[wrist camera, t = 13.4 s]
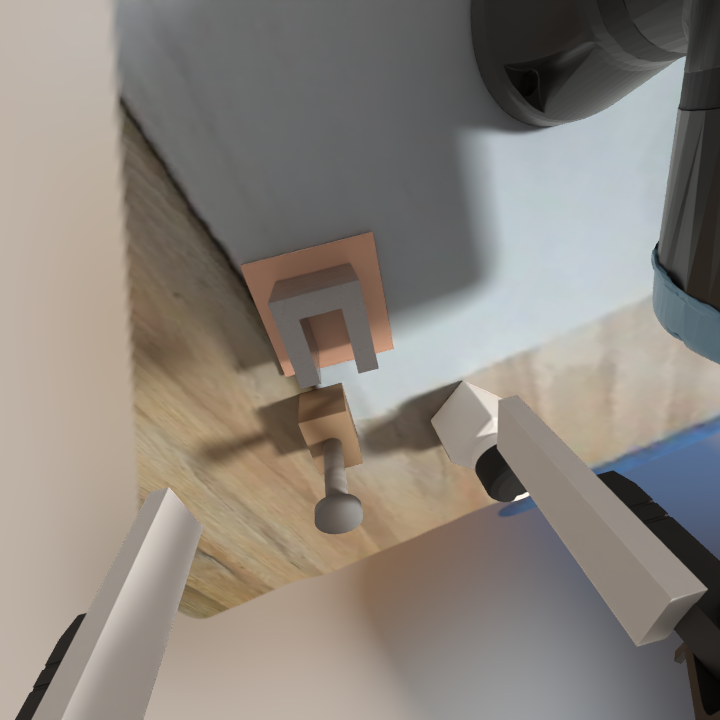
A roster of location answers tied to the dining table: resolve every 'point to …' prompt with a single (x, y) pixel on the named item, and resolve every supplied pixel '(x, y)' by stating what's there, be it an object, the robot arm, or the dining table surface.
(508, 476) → the medicine bottle
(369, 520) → the dining table surface
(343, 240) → the tile
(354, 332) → the c link
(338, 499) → the knob on wooden block
